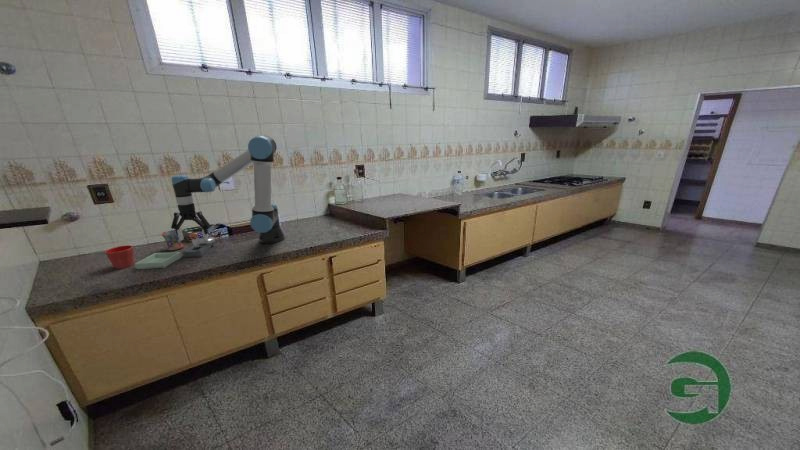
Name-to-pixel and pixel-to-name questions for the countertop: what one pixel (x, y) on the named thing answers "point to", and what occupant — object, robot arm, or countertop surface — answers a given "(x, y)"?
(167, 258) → the tray
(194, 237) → the orange capped clear bottle
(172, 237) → the mug
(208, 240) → the tensioner block
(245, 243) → the countertop surface
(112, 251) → the flower pot
